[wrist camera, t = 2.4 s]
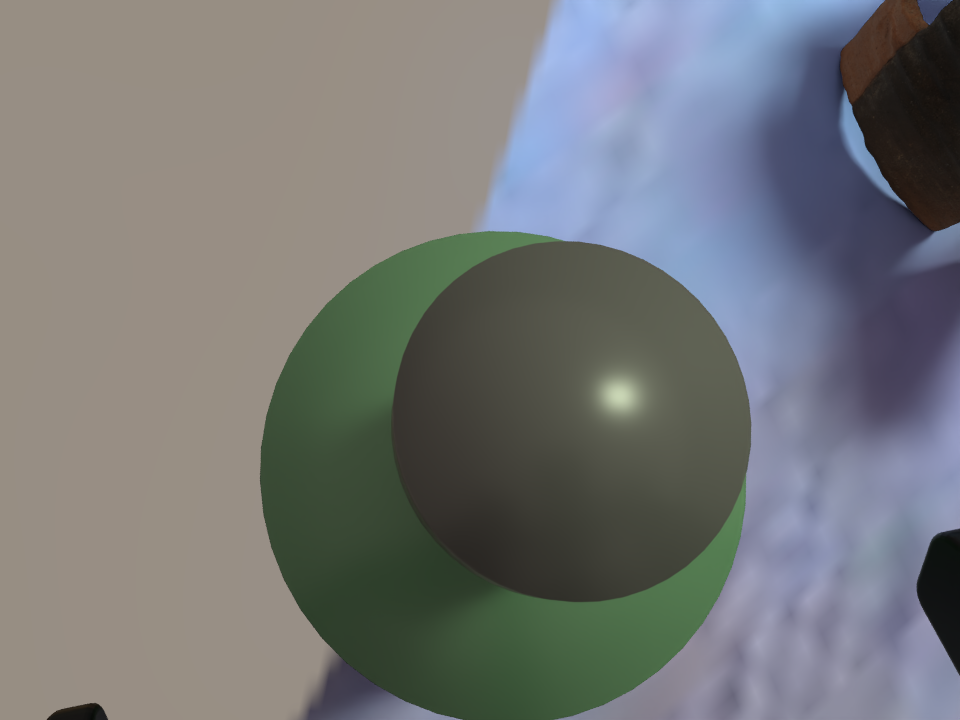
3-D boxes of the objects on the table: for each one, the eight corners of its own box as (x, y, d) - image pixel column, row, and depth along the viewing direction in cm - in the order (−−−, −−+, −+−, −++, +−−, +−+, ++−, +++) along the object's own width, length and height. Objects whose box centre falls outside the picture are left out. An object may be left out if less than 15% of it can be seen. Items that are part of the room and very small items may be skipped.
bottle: (549, 670, 18) (892, 851, 6) (283, 625, 18) (123, 732, 6) (585, 411, 19) (918, 170, 8) (339, 363, 19) (303, 31, 7)
